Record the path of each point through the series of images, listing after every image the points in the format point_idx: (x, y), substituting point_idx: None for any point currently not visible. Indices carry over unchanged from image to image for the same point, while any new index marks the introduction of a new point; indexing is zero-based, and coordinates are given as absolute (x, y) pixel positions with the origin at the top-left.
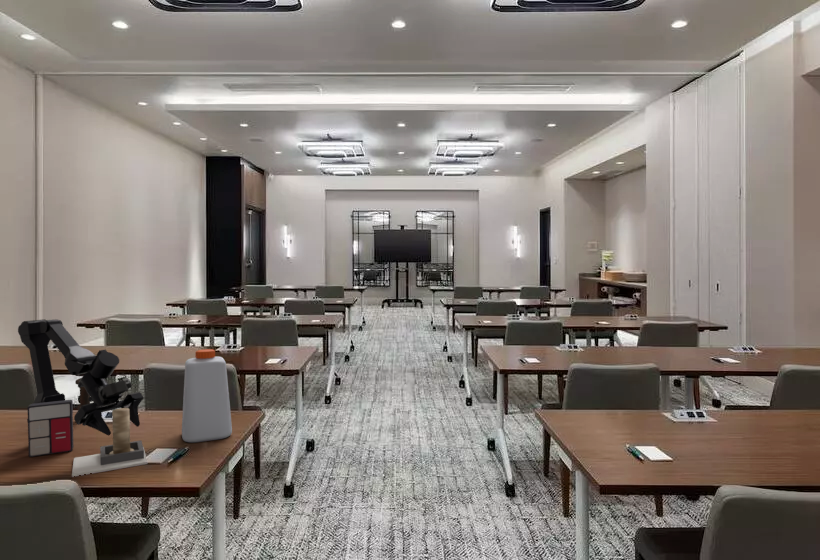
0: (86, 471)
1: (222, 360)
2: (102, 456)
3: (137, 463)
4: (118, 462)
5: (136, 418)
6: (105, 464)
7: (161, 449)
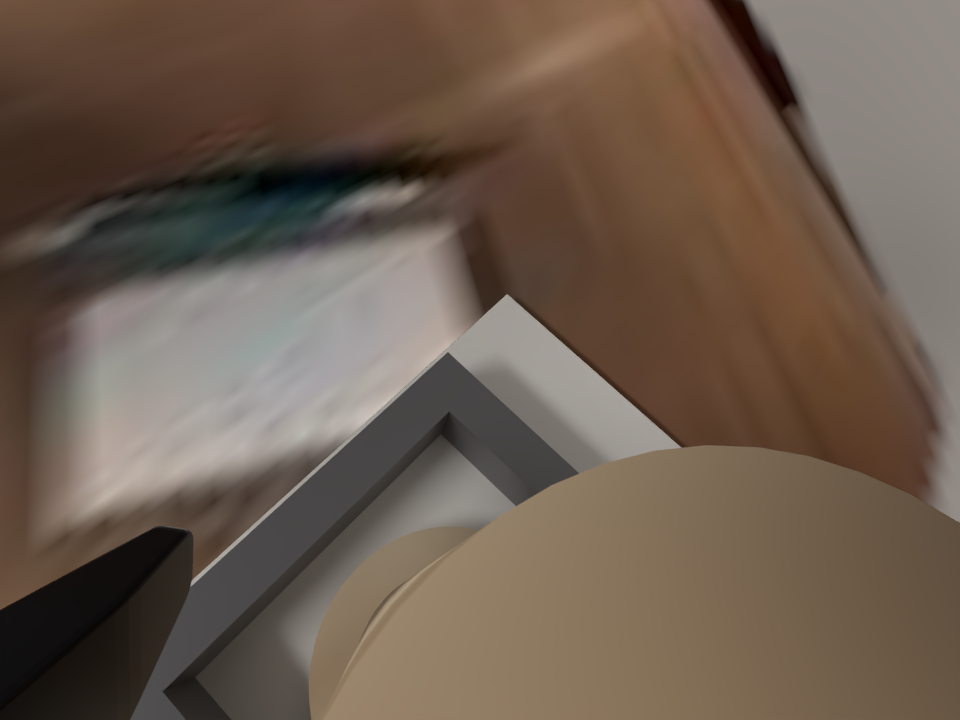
0: None
1: None
2: None
3: (562, 343)
4: None
5: (74, 633)
6: None
7: (114, 439)
